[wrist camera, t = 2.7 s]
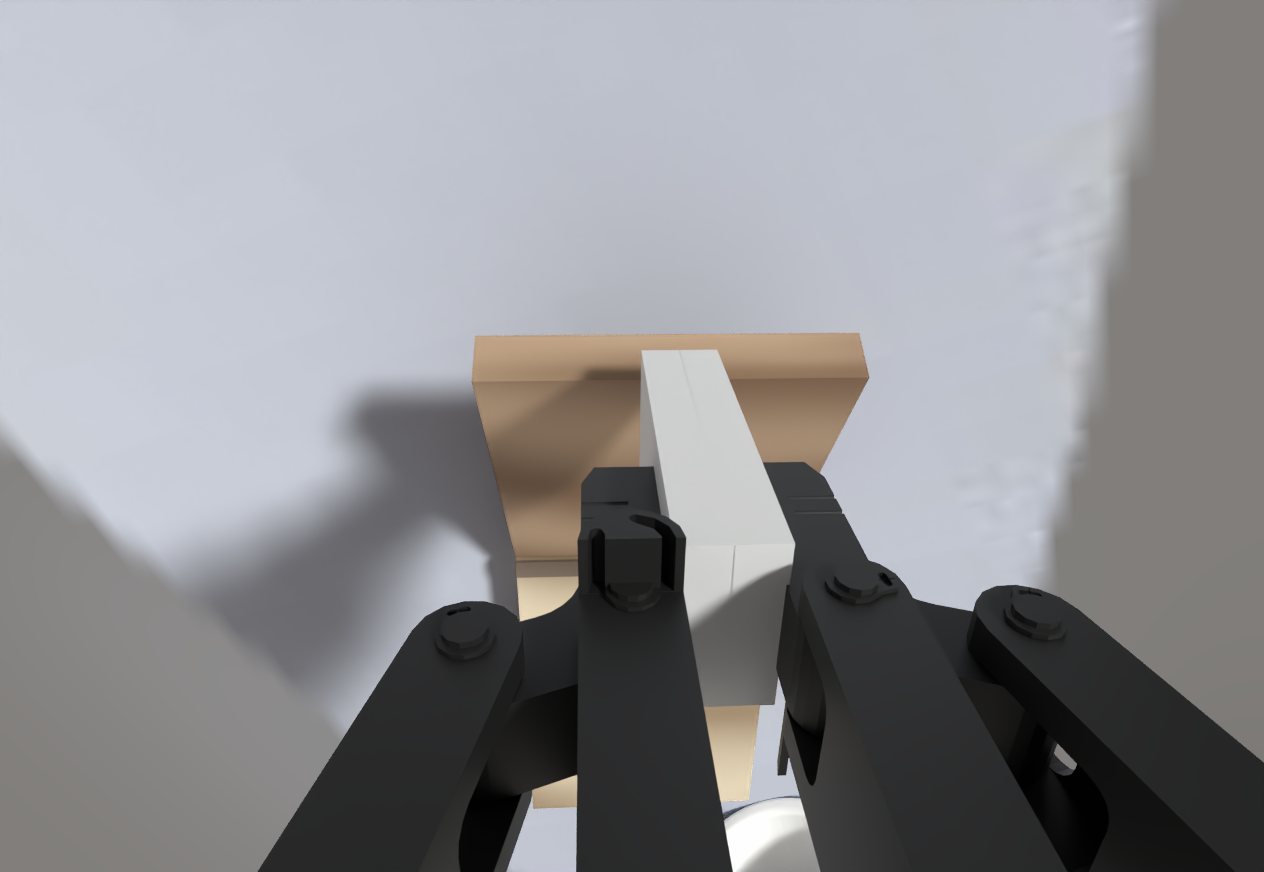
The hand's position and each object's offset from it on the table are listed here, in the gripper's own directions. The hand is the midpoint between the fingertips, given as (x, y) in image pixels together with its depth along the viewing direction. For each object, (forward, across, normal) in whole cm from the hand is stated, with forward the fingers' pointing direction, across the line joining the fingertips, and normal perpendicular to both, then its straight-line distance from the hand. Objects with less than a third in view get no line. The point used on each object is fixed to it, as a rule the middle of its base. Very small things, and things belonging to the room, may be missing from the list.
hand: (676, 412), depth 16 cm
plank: (+5, 0, -3) cm, 6 cm away
